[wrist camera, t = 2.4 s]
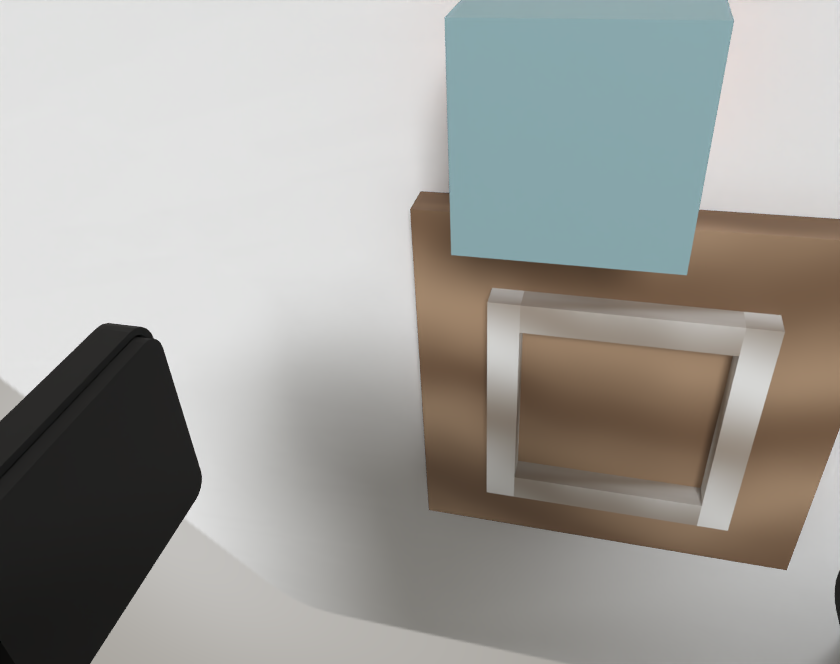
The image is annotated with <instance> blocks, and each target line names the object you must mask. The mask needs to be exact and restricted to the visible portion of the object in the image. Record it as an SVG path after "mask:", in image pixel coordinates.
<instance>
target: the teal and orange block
mask: <svg viewBox="0 0 840 664" xmlns="http://www.w3.org/2000/svg"><path fill="white" fill-rule="evenodd" d="M733 23H734V19H733V16H732V13H731V9H730V6H729V3H728V0H461V1H460V2H459V3H458V4H457V5H456V6H455V7H454V8H453V9H452V10H451V11H450V12H449V13H448V15H447V16H446V17H445V46H446V83H447V119H448V156H449V192H450V229H451V255H457V256H469V257H480V258H492V259H503V260H515V261H527V262H538V263H550V264H562V265H573V266H585V267H596V268H608V269H620V270H631V271H643V272H654V273H666V274H678V275H687V272H688V266H689V261H690V256H691V250H692V245H693V239H694V234H695V228H696V223H697V218H698V212H699V207H700V201H701V196H702V191H703V185H704V180H705V174H706V169H707V164H708V158H709V153H710V147H711V142H712V137H713V131H714V126H715V120H716V115H717V110H718V104H719V99H720V93H721V88H722V83H723V77H724V72H725V66H726V61H727V55H728V50H729V45H730V39H731V34H732V28H733Z"/></svg>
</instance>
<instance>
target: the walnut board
mask: <svg viewBox="0 0 840 664" xmlns="http://www.w3.org/2000/svg"><path fill="white" fill-rule="evenodd" d="M410 212H411V228H412V245H413V261H414V277H415V293H416V309H417V325H418V341H419V357H420V373H421V390H422V406H423V422H424V438H425V454H426V470H427V486H428V502H429V510H433V511H439V512H444V513H450V514H456V515H462V516H468V517H474V518H480V519H486V520H492V521H498V522H504V523H510V524H516V525H522V526H528V527H533V528H539V529H545V530H551V531H557V532H563V533H569V534H575V535H581V536H587V537H593V538H599V539H605V540H611V541H617V542H622V543H628V544H634V545H640V546H646V547H652V548H658V549H664V550H670V551H676V552H682V553H688V554H694V555H700V556H705V557H711V558H717V559H723V560H729V561H735V562H741V563H747V564H753V565H759V566H765V567H771V568H777V569H783V570H787V568H788V565H789V562H790V559H791V557H792V554H793V551H794V549H795V546H796V543H797V541H798V538H799V535H800V533H801V530H802V527H803V525H804V522H805V519H806V517H807V514H808V511H809V509H810V506H811V503H812V501H813V498H814V495H815V493H816V490H817V487H818V485H819V482H820V479H821V477H822V474H823V471H824V469H825V466H826V463H827V461H828V458H829V455H830V453H831V450H832V447H833V445H834V442H835V439H836V437H837V434H838V431H839V429H840V219H829V218H814V217H799V216H784V215H769V214H754V213H738V212H723V211H708V210H699V212H698V218H697V223H696V228H695V234H694V239H693V245H692V250H691V256H690V261H689V266H688V272H687V275H678V274H666V273H654V272H643V271H631V270H620V269H608V268H596V267H585V266H573V265H562V264H550V263H538V262H527V261H515V260H503V259H492V258H480V257H469V256H457V255H451V229H450V193H436V192H420V194H419V195H418V197H417V199H416V200H415V202H414V204H413V205H412V207H411V209H410Z"/></svg>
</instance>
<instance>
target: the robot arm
mask: <svg viewBox="0 0 840 664" xmlns="http://www.w3.org/2000/svg"><path fill="white" fill-rule="evenodd" d="M201 483H202V475H201V470H200V467H199V464H198V460H197V457H196V454H195V451H194V447H193V444H192V441H191V438H190V434H189V431H188V428H187V425H186V421H185V418H184V415H183V412H182V408H181V405H180V402H179V399H178V395H177V392H176V389H175V386H174V382H173V379H172V376H171V373H170V369H169V366H168V363H167V360H166V356H165V353H164V350H163V347H162V345H161V343H160V342H159V341H158V340H156V339H154V338H153V336H152V334H151V332H149V331H148V330H147V329H146V328H143V327H137V326H128V325H120V324H111V323H107V324H102V325H101V326H99V327H98V328H96V329H95V330H94V331H93V332H92V333H91V334H90V335H89V336H88V337H87V338H86V339H85V340H84V341H83V342H82V343H81V344H80V345H79V346H78V347H77V348H76V349H75V350H74V351H73V352H71V353H70V354H69V355H68V356H67V357H66V358H65V359H64V360H63V361H62V362H61V363H60V364H59V365H58V366H57V367H56V368H55V369H54V370H53V371H52V372H51V373H50V374H49V375H48V376H47V377H46V378H45V379H44V380H43V381H41V382H40V383H39V384H38V385H37V386H36V387H35V388H34V389H33V390H32V391H31V392H30V393H29V394H28V395H27V396H26V397H25V398H24V399H23V400H22V401H21V402H20V403H19V404H18V405H17V406H16V407H15V408H14V409H13V410H11V411H10V412H9V413H8V414H7V415H6V416H5V417H4V418H3V419H2V420H1V421H0V664H90V663H91V661H92V660H93V658H94V656H95V655H96V653H97V652H98V650H99V649H100V647H101V646H102V644H103V643H104V641H105V639H106V638H107V637H108V635H109V633H110V632H111V630H112V629H113V627H114V626H115V624H116V623H117V621H118V620H119V618H120V616H121V615H122V613H123V612H124V610H125V609H126V607H127V606H128V604H129V602H130V601H131V599H132V598H133V596H134V595H135V593H136V592H137V590H138V588H139V587H140V585H141V584H142V582H143V581H144V579H145V578H146V576H147V574H148V573H149V571H150V570H151V568H152V566H153V565H154V564H155V562H156V560H157V559H158V557H159V556H160V554H161V553H162V551H163V550H164V548H165V547H166V545H167V543H168V542H169V540H170V539H171V537H172V536H173V534H174V533H175V531H176V529H177V528H178V526H179V525H180V523H181V522H182V520H183V519H184V517H185V516H186V514H187V512H188V511H189V509H190V508H191V506H192V505H193V503H194V502H195V500H196V498H197V496H198V494H199V491H200V488H201ZM835 605H836V610H837V615H838V619H839V624H840V571H839V573H838V576H837V579H836V585H835Z"/></svg>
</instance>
